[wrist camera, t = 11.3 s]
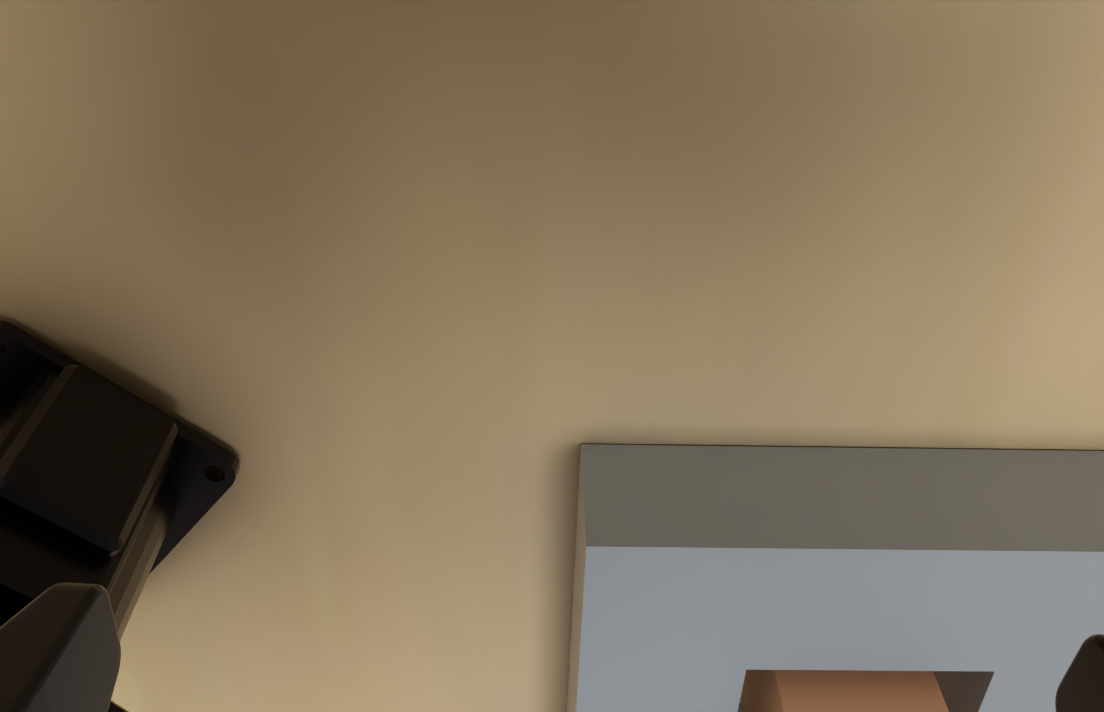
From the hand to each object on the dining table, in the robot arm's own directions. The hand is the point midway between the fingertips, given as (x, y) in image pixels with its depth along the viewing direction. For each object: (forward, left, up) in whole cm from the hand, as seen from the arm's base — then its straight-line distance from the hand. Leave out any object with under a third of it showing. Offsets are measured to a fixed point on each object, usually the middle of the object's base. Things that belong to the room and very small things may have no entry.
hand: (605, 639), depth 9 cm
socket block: (-7, -16, -13) cm, 21 cm away
